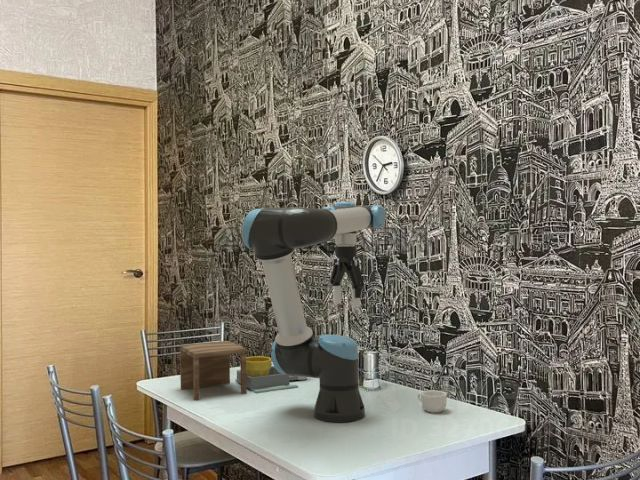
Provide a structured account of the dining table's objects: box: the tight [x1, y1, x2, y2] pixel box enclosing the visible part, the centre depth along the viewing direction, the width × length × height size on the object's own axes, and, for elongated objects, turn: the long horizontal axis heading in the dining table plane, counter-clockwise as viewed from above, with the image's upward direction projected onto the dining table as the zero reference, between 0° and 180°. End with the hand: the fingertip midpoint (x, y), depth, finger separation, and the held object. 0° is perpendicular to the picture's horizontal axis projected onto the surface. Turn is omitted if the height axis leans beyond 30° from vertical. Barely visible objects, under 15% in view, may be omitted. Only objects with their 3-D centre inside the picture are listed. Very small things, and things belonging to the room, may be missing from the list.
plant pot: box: [246, 355, 272, 377], centre depth 226 cm, size 10×10×10 cm
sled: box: [236, 365, 308, 391], centre depth 230 cm, size 15×25×11 cm, turn 117°
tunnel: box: [179, 340, 248, 401], centre depth 219 cm, size 18×18×16 cm
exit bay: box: [234, 378, 299, 394], centre depth 229 cm, size 21×16×1 cm
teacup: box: [417, 389, 448, 414], centre depth 192 cm, size 10×8×5 cm
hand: (346, 305), depth 223 cm, fingers open, 13 cm apart
